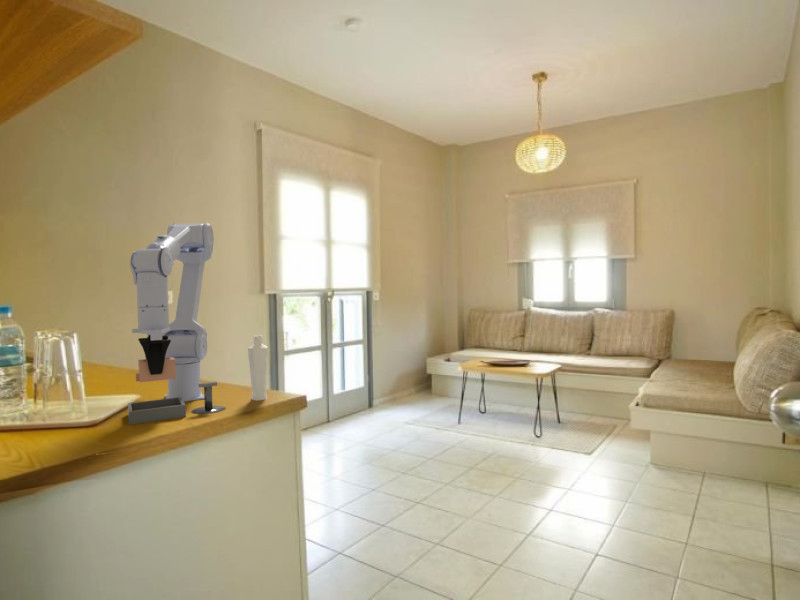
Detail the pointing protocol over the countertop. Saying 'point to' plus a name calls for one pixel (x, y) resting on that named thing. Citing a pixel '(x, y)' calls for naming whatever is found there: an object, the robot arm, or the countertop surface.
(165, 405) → the tray
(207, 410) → the dark grey stand
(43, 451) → the countertop surface
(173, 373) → the pink block
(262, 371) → the perfume bottle
